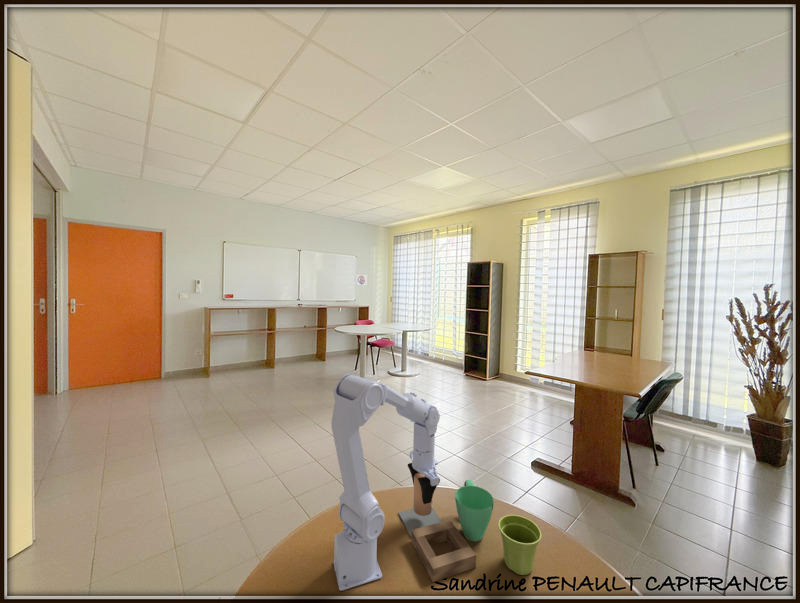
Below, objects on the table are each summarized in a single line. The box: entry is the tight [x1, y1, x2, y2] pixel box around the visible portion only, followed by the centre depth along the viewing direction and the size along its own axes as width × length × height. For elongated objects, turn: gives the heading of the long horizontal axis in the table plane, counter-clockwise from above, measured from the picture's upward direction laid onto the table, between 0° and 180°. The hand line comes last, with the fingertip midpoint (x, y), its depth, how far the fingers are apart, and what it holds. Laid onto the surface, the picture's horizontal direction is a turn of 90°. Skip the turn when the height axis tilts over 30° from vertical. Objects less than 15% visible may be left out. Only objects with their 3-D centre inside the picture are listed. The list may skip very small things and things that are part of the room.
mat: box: [398, 507, 443, 537], centre depth 89 cm, size 10×10×1 cm
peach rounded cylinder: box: [412, 473, 433, 516], centre depth 89 cm, size 5×5×9 cm
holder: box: [410, 519, 477, 583], centre depth 78 cm, size 11×12×3 cm
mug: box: [454, 479, 495, 542], centre depth 87 cm, size 15×10×10 cm
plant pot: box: [497, 514, 543, 576], centre depth 76 cm, size 9×9×9 cm
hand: (422, 496), depth 89 cm, fingers closed on peach rounded cylinder, 5 cm apart
